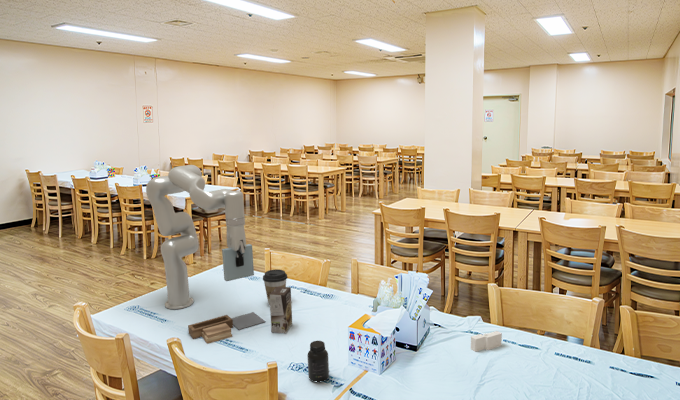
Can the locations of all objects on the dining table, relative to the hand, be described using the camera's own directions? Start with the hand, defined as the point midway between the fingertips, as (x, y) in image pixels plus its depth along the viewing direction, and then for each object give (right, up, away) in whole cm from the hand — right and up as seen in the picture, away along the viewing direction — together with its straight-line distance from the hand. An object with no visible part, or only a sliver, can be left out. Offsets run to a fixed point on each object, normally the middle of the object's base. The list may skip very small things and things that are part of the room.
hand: (238, 264), depth 193 cm
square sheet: (0, -5, +1) cm, 5 cm away
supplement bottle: (+35, -32, -38) cm, 61 cm away
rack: (-11, -26, -2) cm, 29 cm away
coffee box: (+18, -26, -1) cm, 32 cm away
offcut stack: (-7, -28, -8) cm, 30 cm away
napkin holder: (+95, -28, -21) cm, 101 cm away
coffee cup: (+12, -21, +24) cm, 34 cm away
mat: (+2, -25, +6) cm, 25 cm away
